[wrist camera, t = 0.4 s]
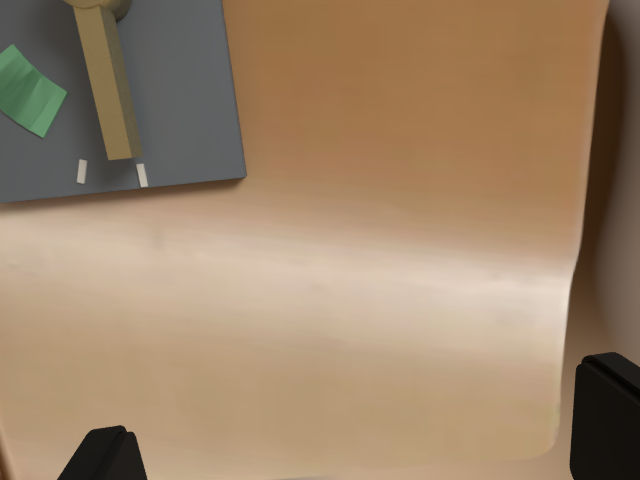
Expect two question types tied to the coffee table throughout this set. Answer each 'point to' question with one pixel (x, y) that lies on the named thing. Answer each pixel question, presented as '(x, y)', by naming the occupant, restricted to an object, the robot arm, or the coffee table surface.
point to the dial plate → (146, 92)
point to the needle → (108, 74)
